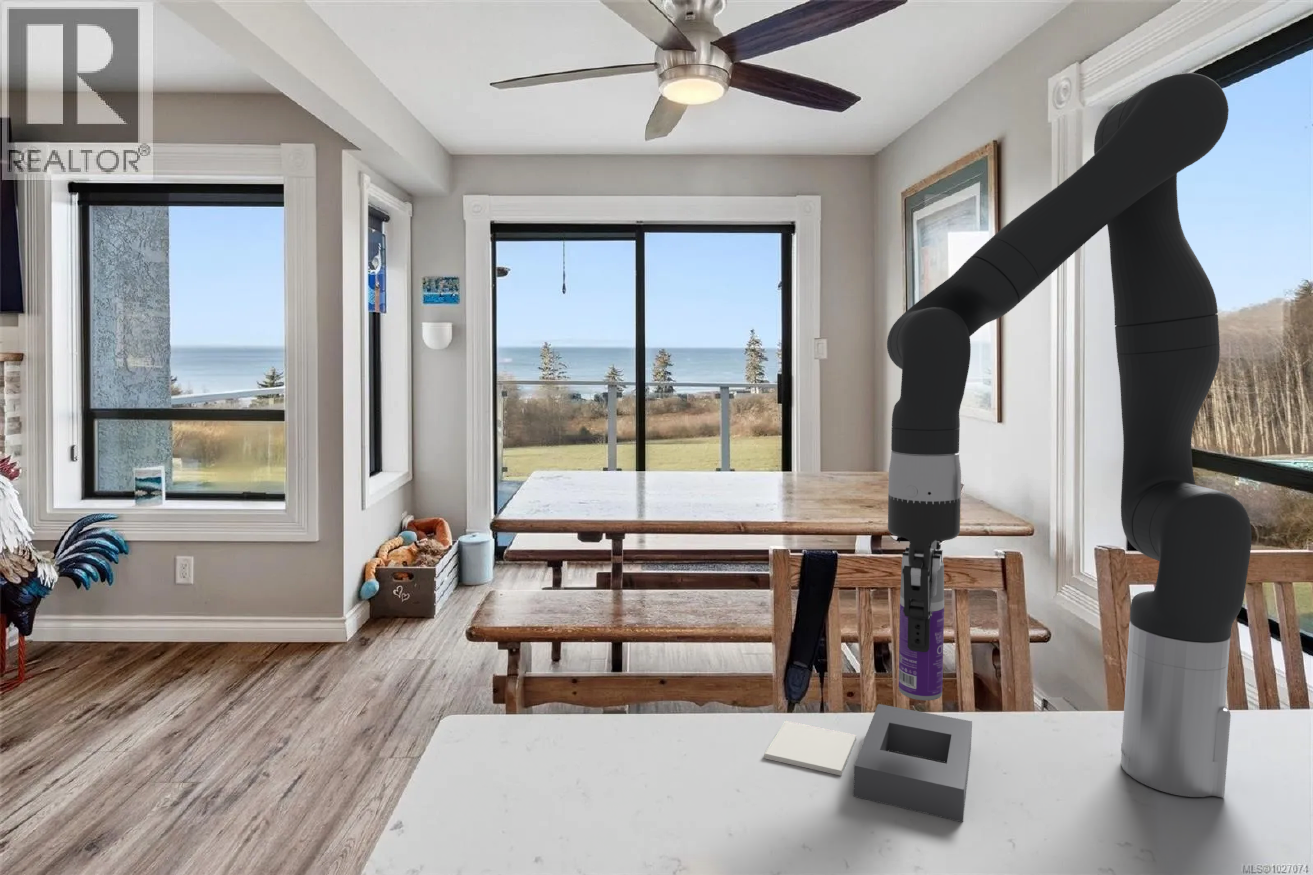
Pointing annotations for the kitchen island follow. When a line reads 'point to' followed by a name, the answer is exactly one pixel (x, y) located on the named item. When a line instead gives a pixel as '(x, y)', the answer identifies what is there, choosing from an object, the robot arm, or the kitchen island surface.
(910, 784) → the socket block
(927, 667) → the container
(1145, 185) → the robot arm
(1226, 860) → the kitchen island surface
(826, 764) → the tile
